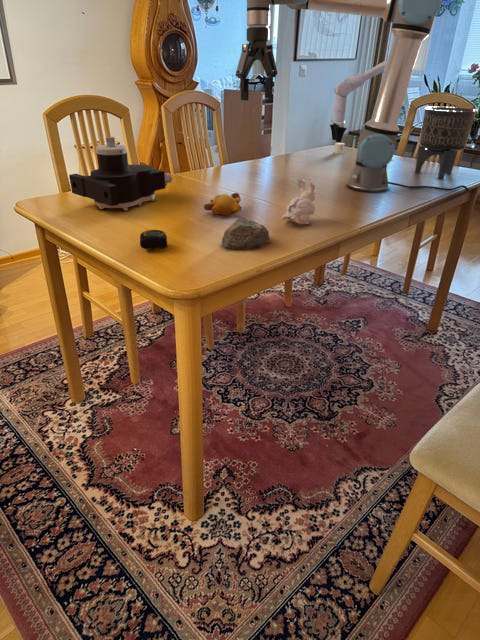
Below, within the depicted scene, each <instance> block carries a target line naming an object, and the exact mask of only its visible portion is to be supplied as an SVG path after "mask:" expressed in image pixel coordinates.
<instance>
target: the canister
mask: <svg viewBox="0 0 480 640" xmlns="http://www.w3.org/2000/svg"><path fill="white" fill-rule="evenodd" d="M344 149H345V143H344V142H341V143H336V142H335V143H334V149H333V154H335V155H343V154H344Z"/></svg>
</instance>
